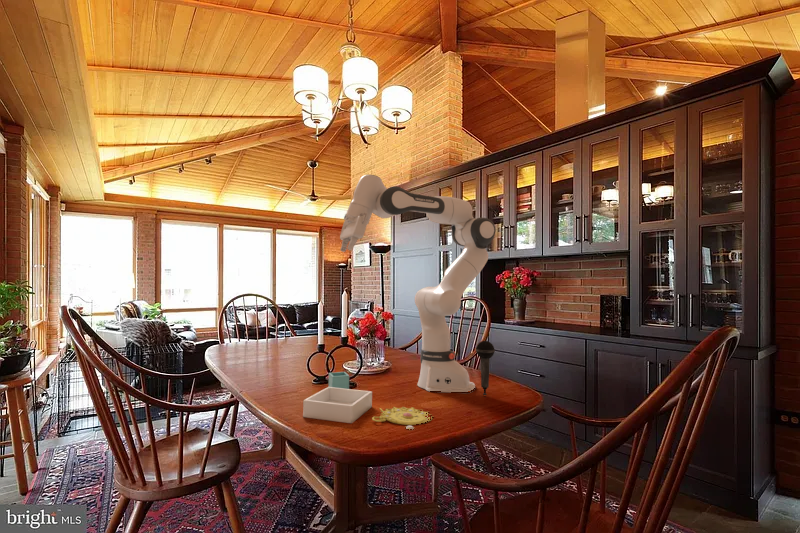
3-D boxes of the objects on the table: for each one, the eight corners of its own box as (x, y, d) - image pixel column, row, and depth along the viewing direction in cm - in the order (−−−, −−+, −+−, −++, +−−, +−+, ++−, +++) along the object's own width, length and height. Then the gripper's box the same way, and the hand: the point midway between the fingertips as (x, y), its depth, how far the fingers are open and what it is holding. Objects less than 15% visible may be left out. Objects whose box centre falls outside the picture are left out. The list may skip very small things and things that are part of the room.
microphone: (494, 400, 142) (495, 342, 143) (475, 398, 143) (475, 341, 144) (494, 394, 149) (494, 339, 149) (475, 393, 150) (475, 339, 151)
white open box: (371, 406, 132) (372, 391, 133) (351, 423, 117) (352, 406, 117) (327, 401, 137) (328, 386, 137) (303, 416, 122) (303, 400, 122)
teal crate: (344, 392, 149) (344, 371, 149) (348, 396, 143) (349, 375, 143) (328, 393, 147) (328, 372, 147) (332, 398, 141) (332, 376, 141)
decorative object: (448, 418, 119) (388, 426, 109) (447, 427, 119) (387, 435, 109) (412, 399, 137) (357, 404, 127) (411, 406, 137) (357, 412, 127)
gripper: (375, 215, 140) (362, 252, 138) (358, 222, 159) (346, 255, 157) (358, 208, 138) (345, 245, 136) (343, 216, 157) (331, 249, 155)
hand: (346, 250), depth 147 cm, fingers open, 8 cm apart
